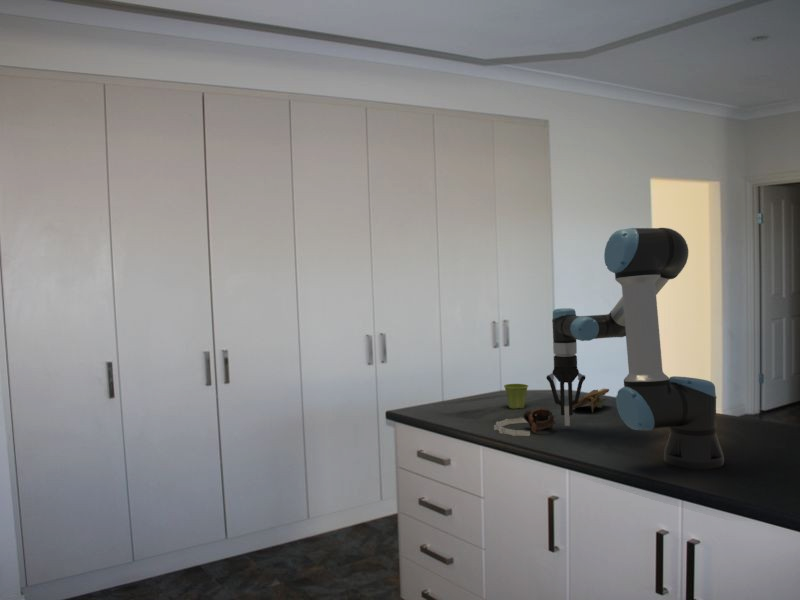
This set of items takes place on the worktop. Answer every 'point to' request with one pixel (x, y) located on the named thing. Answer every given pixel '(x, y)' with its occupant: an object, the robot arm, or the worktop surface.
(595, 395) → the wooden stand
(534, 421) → the pottery mug
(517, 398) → the plant pot
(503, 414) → the worktop surface
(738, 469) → the worktop surface
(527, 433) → the grey u-shaped piece
